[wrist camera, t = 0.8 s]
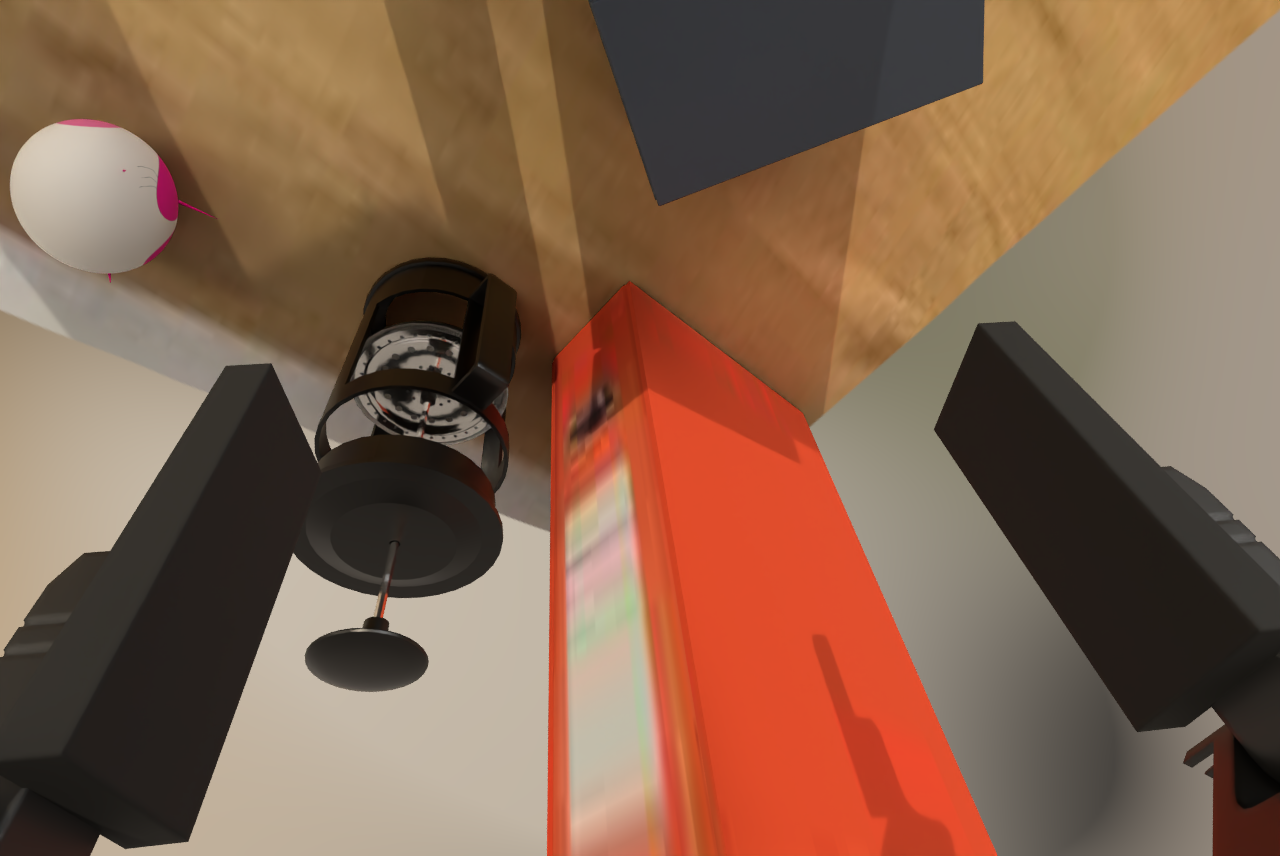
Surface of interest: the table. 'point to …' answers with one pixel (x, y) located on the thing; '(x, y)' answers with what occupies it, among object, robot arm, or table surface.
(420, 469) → the french press
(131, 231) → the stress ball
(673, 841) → the file binder
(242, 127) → the table surface
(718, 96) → the carton
